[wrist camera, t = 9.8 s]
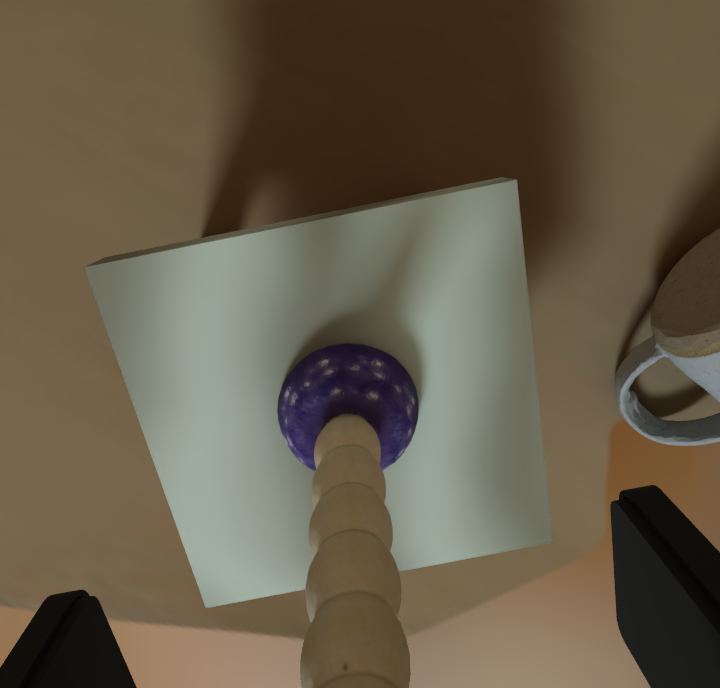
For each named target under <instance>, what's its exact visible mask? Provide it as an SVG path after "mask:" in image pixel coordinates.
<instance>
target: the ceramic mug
mask: <svg viewBox="0 0 720 688" xmlns="http://www.w3.org/2000/svg"><path fill="white" fill-rule="evenodd" d="M651 327H652V331H653V335H654V336H652V337H651V338H649V339H648V340H646V341H644V342H642V343H641V344H639V345H638V346H636V347H635V348H634V349H633V350H632V351H631V352H630V354H629V355H628V356H627V357H626V358H625V359H624V360H623V362H622V363H621V365H620V366H619V368H618V370H617V372H616V376H615V392H616V396H617V402H618V406H619V410H620V412H621V413H622V415H623V417H624V419H625V420H626V421H627V422H628V423H629V424H630V426H632V427H633V428H634V429H635V430H636V431H637V432H639V433H640V434H642V435H643V436H645V437H646V438H648V439H650V440H653V441H656V442H659V443H663V444H668V445H678V446H689V445H703V444H709V443H714V442H719V441H720V413H718V414H715V415H713V416H708V417H706V418H701V419H696V420H690V421H667V420H662V419H661V418H659V417H655V416H653V415H652V414H651V413H650V412H649V411H648V410H647V409H646V408H645V407H644V406H642V405H641V404H640V402H639V401H638V400H637V395H636V393H635V392H633V391H631V390H629V387H630V385H631V384H632V383H633V381H634V379H635V378H636V377H637V376H638V375H639V374H640V373H642V372H643V371H644V370H645V369H646V368H647V367H648V366H650V365H652V364H654V363H655V362H656V361H657V360H659V359H661V358H663V357H668V358H669V359H670V360H671V361H672V362H673V363H674V364H675V365H676V366H677V367H678V368H679V369H680V370H681V371H683V372H684V373H685V374H686V375H687V376H688V377H689V378H691V379H692V380H693V381H694V382H696V383H697V384H698V385H700V386H701V387H702V388H704V389H705V390H706V391H707V392H708V393H709V394H711V395H712V396H713V397H714V398H715V399H716V400H718V401H719V402H720V228H719V229H717V230H716V231H714V232H713V233H711V234H710V235H708V236H706V237H705V238H703V239H702V240H701V241H700V242H698V243H697V244H696V245H695V246H694V247H693V248H692V249H691V250H689V251H688V252H687V253H686V254H685V255H684V256H683V257H682V258H681V259H680V260H679V261H678V262H677V263H676V265H675V266H674V267H673V268H672V270H671V271H670V272H669V274H668V275H667V277H666V278H665V279H664V281H663V282H662V284H661V286H660V288H659V290H658V292H657V294H656V297H655V300H654V303H653V308H652V312H651Z"/></svg>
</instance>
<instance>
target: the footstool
mask: <svg viewBox="0 0 720 688" xmlns="http://www.w3.org/2000/svg"><path fill="white" fill-rule="evenodd" d="M84 268H85V271H86V274H87V277H88V280H89V282H90V285H91V288H92V291H93V293H94V296H95V299H96V302H97V305H98V307H99V310H100V313H101V316H102V319H103V321H104V324H105V327H106V330H107V333H108V335H109V338H110V341H111V344H112V347H113V349H114V352H115V355H116V358H117V361H118V363H119V366H120V369H121V372H122V375H123V377H124V380H125V383H126V386H127V389H128V391H129V394H130V397H131V400H132V403H133V405H134V408H135V411H136V414H137V417H138V419H139V422H140V425H141V428H142V431H143V433H144V436H145V439H146V442H147V445H148V447H149V450H150V453H151V456H152V459H153V461H154V464H155V467H156V470H157V472H158V475H159V478H160V481H161V484H162V486H163V489H164V492H165V495H166V498H167V500H168V503H169V506H170V509H171V512H172V514H173V517H174V520H175V523H176V526H177V528H178V531H179V534H180V537H181V540H182V542H183V545H184V548H185V551H186V554H187V556H188V559H189V562H190V565H191V568H192V570H193V573H194V576H195V579H196V582H197V584H198V587H199V590H200V593H201V596H202V598H203V601H204V604H205V607H206V608H209V607H214V606H219V605H225V604H230V603H235V602H240V601H246V600H251V599H256V598H262V597H267V596H272V595H278V594H283V593H288V592H293V591H299V590H304V589H306V581H307V575H308V571H309V567H310V565H311V563H312V561H313V557H312V555H311V551H310V547H309V541H308V532H309V523H310V519H311V516H312V513H313V511H314V509H315V508H314V504H313V501H312V481H313V477H314V474H315V471H313V470H311V469H310V468H308V467H307V466H306V465H304V464H303V463H302V462H301V461H299V460H298V459H297V458H296V457H295V455H294V454H293V453H292V452H291V450H290V448H289V447H288V445H287V444H286V442H285V440H284V437H283V435H282V433H281V429H280V425H279V422H278V413H277V408H278V397H279V394H280V391H281V388H282V384H283V382H284V381H285V379H286V377H287V376H288V374H289V373H290V372H291V371H292V370H293V368H294V367H295V366H296V365H297V364H298V363H299V362H300V361H301V360H302V359H303V358H305V357H306V356H308V355H309V354H310V353H311V352H314V351H316V350H319V349H321V348H324V347H326V346H330V345H336V344H344V343H350V344H363V345H367V346H371V347H373V348H377V349H380V350H382V351H384V352H386V353H388V354H390V355H391V356H393V357H394V358H396V359H397V360H398V361H399V362H400V363H401V365H402V366H403V367H404V368H405V369H406V370H407V372H408V373H409V375H410V376H411V378H412V380H413V382H414V385H415V387H416V389H417V396H418V405H419V413H418V421H417V425H416V429H415V432H414V435H413V437H412V440H411V442H410V444H409V446H408V447H407V449H406V450H405V452H404V453H403V454H402V455H401V457H400V458H399V459H398V460H397V461H396V462H395V463H393V464H392V465H391V466H389V467H388V468H386V469H384V470H383V473H384V477H385V482H386V498H385V502H384V503H385V505H386V507H387V509H388V512H389V514H390V517H391V521H392V526H393V542H392V547H391V551H390V552H391V554H392V556H393V558H394V560H395V562H396V564H397V567H398V571H405V570H410V569H415V568H420V567H426V566H431V565H436V564H442V563H447V562H452V561H458V560H463V559H468V558H473V557H479V556H484V555H489V554H495V553H500V552H505V551H511V550H516V549H521V548H526V547H532V546H537V545H542V544H548V543H553V539H552V529H551V519H550V509H549V499H548V489H547V479H546V469H545V458H544V448H543V438H542V428H541V418H540V408H539V398H538V388H537V377H536V367H535V357H534V347H533V337H532V327H531V317H530V307H529V296H528V286H527V276H526V266H525V256H524V246H523V236H522V226H521V215H520V205H519V195H518V185H517V180H516V179H510V178H504V177H500V178H495V179H490V180H485V181H480V182H475V183H470V184H465V185H460V186H455V187H450V188H445V189H441V190H436V191H431V192H426V193H418V194H415V195H411V196H406V197H401V198H396V199H391V200H386V201H381V202H376V203H371V204H367V205H362V206H357V207H352V208H347V209H342V210H337V211H332V212H327V213H322V214H317V215H312V216H307V217H302V218H297V219H293V220H288V221H283V222H278V223H273V224H268V225H263V226H258V227H253V228H248V229H243V230H238V231H233V232H228V233H224V234H219V235H210V236H208V237H204V238H199V239H194V240H189V241H184V242H179V243H174V244H169V245H164V246H159V247H154V248H150V249H145V250H140V251H135V252H130V253H125V254H120V255H115V256H110V257H105V258H103V259H101V260H99V261H97V262H94V263H92V264H90V265H88V266H86V267H84Z"/></svg>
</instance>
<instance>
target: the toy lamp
mask: <svg viewBox="0 0 720 688" xmlns="http://www.w3.org/2000/svg"><path fill="white" fill-rule="evenodd" d="M277 413H278V422H279V425H280V429H281V433H282V435H283V437H284V440H285V442H286V444H287V445H288V447H289V448H290V450H291V452H292V453H293V454H294V455H295V457H296V458H297V459H298V460H299V461H301V462H302V463H303V464H304V465H306V466H307V467H308V468H310V469H311V470H313V471H315V474H314V477H313V481H312V501H313V504H314V508H315V509H314V511H313V513H312V516H311V519H310V523H309V532H308V541H309V547H310V551H311V555H312V557H313V561H312V563H311V565H310V567H309V571H308V575H307V581H306V606H307V611H308V615H309V618H310V621H311V624H310V627H309V629H308V632H307V634H306V636H305V639H304V643H303V647H302V654H301V662H300V663H301V664H300V666H301V667H300V668H301V669H300V672H301V673H300V674H301V685H302V688H409V681H410V654H409V650H408V645H407V640H406V637H405V634H404V631H403V629H402V626H401V623H400V622H399V620H398V619H397V616H398V614H399V609H400V603H401V581H400V575H399V571H398V567H397V564H396V562H395V560H394V558H393V556H392V554H391V552H390V551H391V547H392V542H393V526H392V521H391V517H390V514H389V512H388V509H387V507H386V505H385V503H384V502H385V498H386V482H385V477H384V473H383V470H384V469H386V468H388V467H389V466H391V465H392V464H393V463H395V462H396V461H397V460H398V459H399V458H400V457H401V455H402V454H403V453H404V452H405V450H406V449H407V447H408V446H409V444H410V442H411V440H412V437H413V435H414V432H415V429H416V425H417V421H418V413H419V405H418V396H417V389H416V387H415V385H414V382H413V380H412V378H411V376H410V375H409V373H408V372H407V370H406V369H405V368H404V367H403V366H402V365H401V363H400V362H399V361H398V360H397V359H396V358H394V357H393V356H391V355H390V354H388V353H386V352H384V351H382V350H380V349H377V348H373V347H371V346H367V345H363V344H350V343H344V344H336V345H330V346H326V347H324V348H321V349H319V350H316V351H314V352H311V353H310V354H309V355H308V356H306V357H305V358H303V359H302V360H301V361H300V362H299V363H298V364H297V365H296V366H295V367H294V368H293V370H292V371H291V372H290V373H289V374H288V376H287V377H286V379H285V381H284V382H283V384H282V388H281V391H280V394H279V397H278V408H277Z"/></svg>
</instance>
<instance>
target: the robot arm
mask: <svg viewBox="0 0 720 688" xmlns="http://www.w3.org/2000/svg"><path fill="white" fill-rule="evenodd" d="M611 525H612V542H613V561H614V577H615V595H616V613H617V621H618V626H619V630H620V633H621V635H622V637H623V639H624V641H625V643H626V645H627V647H628V649H629V650H630V652H631V654H632V655H633V657H634V659H635V661H636V662H637V664H638V666H639V667H640V669H641V671H642V673H643V675H644V676H645V678H646V680H647V681H648V683H649V685H650V687H651V688H720V552H719V551H718V550H717V549H716V548H715V547H714V546H713V545H712V544H711V543H710V542H709V541H708V540H707V538H706V537H705V536H704V535H703V534H702V533H701V532H700V531H699V530H698V529H697V528H696V527H695V526H694V525H693V524H692V522H691V521H690V520H689V519H688V518H687V517H686V516H685V515H684V514H683V513H682V512H681V511H680V510H679V509H678V507H677V506H676V505H675V504H674V503H673V502H672V501H671V500H670V499H669V498H668V497H667V496H666V495H665V494H664V493H663V492H662V490H661V489H659V488H658V487H657V486H655V485H650V486H645V487H639V488H634V489H628V490H623V491H621V492H620V495H619V500H616V501H613V502H611ZM0 688H136V685H135V683H134V681H133V678H132V676H131V674H130V671H129V669H128V667H127V665H126V662H125V660H124V658H123V656H122V653H121V651H120V648H119V646H118V644H117V642H116V639H115V637H114V635H113V633H112V630H111V628H110V626H109V623H108V621H107V619H106V616H105V614H104V612H103V609H102V607H101V605H100V602H99V601H98V599H97V598H96V597H95V596H89V594H88V593H87V592H86V591H85V590H76V591H71V592H65V593H60V594H54V595H51V596H49V597H47V598H46V599H45V601H44V602H43V603H42V605H41V606H40V608H39V609H38V611H37V612H36V614H35V615H34V617H33V618H32V620H31V622H30V623H29V625H28V626H27V628H26V629H25V631H24V632H23V634H22V635H21V637H20V639H19V640H18V642H17V643H16V644H15V646H14V648H13V649H12V651H11V652H10V654H9V655H8V657H7V658H6V660H5V661H4V663H3V664H2V666H1V667H0Z"/></svg>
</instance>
